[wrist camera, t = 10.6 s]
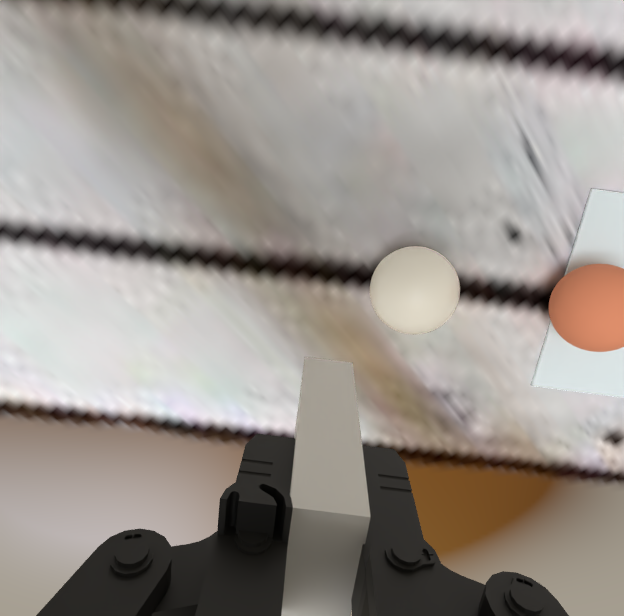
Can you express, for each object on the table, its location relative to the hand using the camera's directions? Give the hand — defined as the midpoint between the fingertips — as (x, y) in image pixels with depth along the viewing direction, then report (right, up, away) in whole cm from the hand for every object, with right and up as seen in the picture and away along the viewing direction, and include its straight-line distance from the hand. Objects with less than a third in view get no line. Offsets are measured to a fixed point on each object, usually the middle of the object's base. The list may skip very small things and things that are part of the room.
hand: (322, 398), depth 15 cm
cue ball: (+6, +4, +15) cm, 17 cm away
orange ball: (+18, +3, +15) cm, 23 cm away
